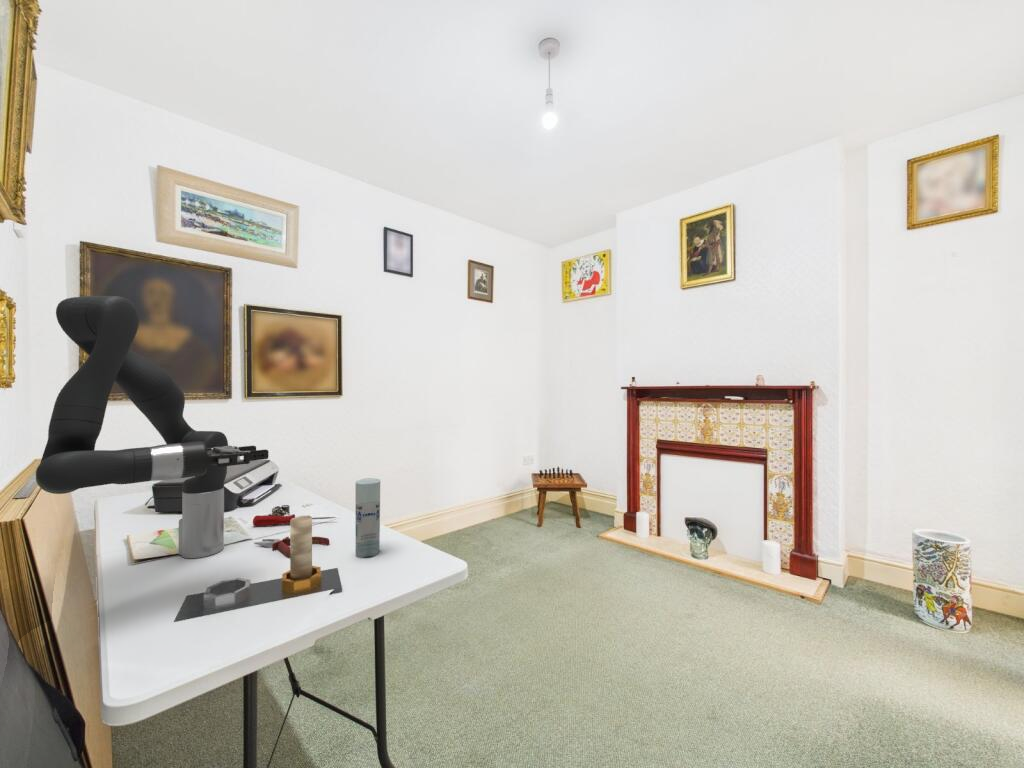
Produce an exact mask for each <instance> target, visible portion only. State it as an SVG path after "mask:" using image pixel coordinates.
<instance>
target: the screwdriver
mask: <svg viewBox="0 0 1024 768" xmlns="http://www.w3.org/2000/svg"><path fill="white" fill-rule="evenodd" d="M295 517H296V514H291V515H277V514H272V515H271V514H269V515H259V514H258V515H255V516H254V517H253V519H252V526H253V527H255V526H257V527H267V526H268V525H273V526H278V525H282V524H289V523H290V520H291V519H292V518H295ZM336 518H337V517H336V516H322V517H321V516H320V517H312V520H326V519H336ZM277 524H278V525H277ZM268 527H269V526H268Z"/></svg>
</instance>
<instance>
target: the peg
mask: <svg viewBox="0 0 1024 768" xmlns="http://www.w3.org/2000/svg"><path fill="white" fill-rule="evenodd" d="M312 518H313V517H312V516H311V515H300V516H295V518H292V519H291V520H290V524H289V525H290V526H289V527H290V529H289V530H290V531H289V532H290V534H289V536H290V537H289V539H290V546H289V547H290V558H289V560H290V561H289V562H290V563H289V564H290V569H289V570H290V580H301V579H306V578H310V577H311V576H312V566H313V544H312V537H313V519H312Z"/></svg>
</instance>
